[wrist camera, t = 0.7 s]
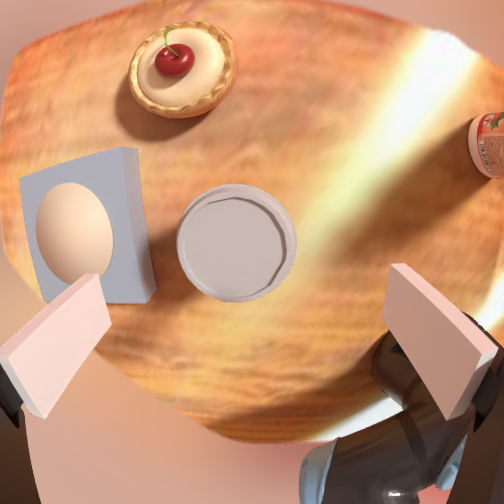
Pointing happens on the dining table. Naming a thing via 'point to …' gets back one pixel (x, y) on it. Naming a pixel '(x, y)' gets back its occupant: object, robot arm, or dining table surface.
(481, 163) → the fruit juice
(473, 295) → the dining table surface
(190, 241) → the disposable coffee cup
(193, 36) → the pastry
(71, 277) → the serving stand
